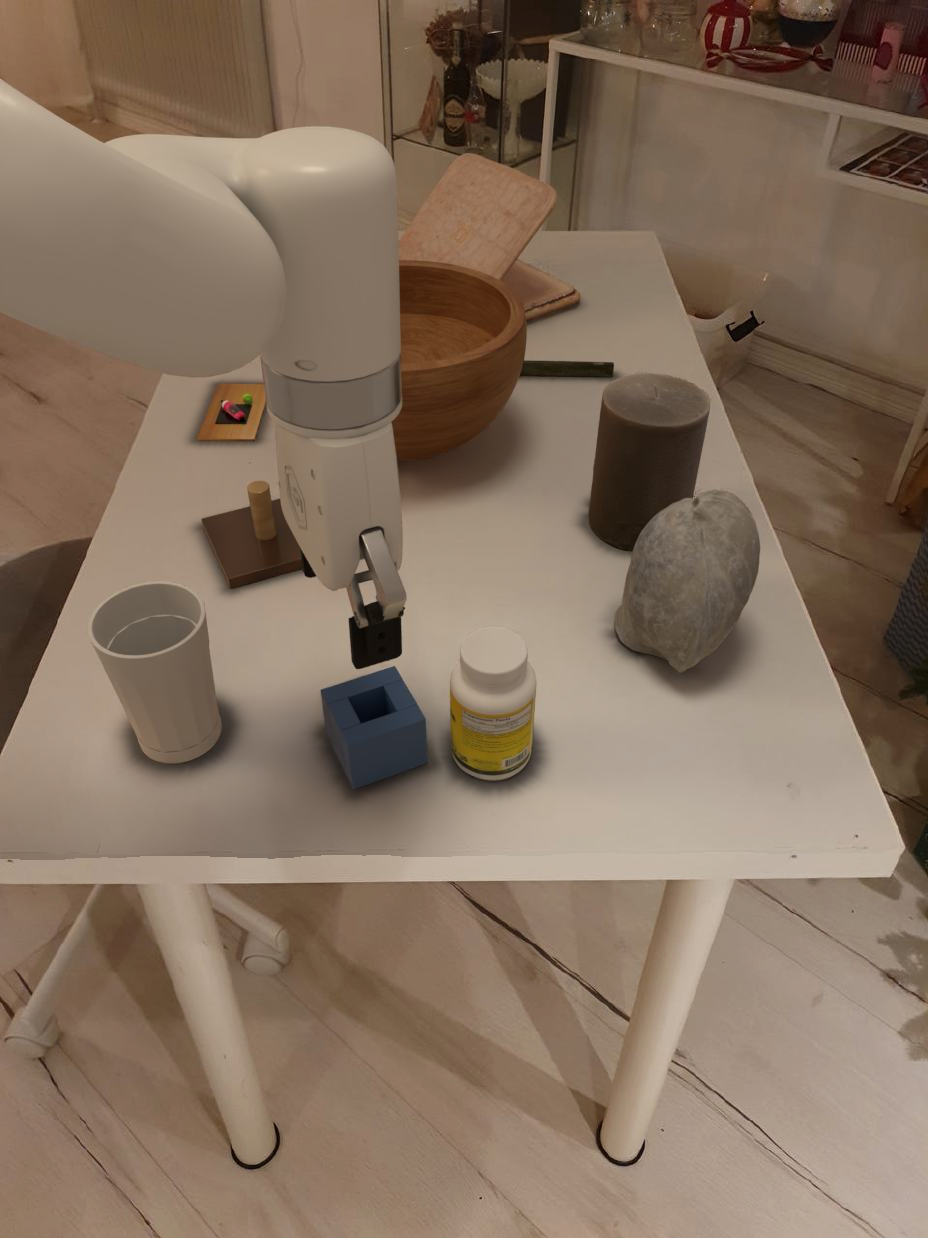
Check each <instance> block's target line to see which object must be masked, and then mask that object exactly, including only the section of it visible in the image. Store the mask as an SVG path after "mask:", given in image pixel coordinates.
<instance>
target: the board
mask: <svg viewBox="0 0 928 1238" xmlns="http://www.w3.org/2000/svg"><path fill="white" fill-rule="evenodd" d="M211 398H212V399H211V401H210V404H209V405H208V409H207V411H206V413H205V416H204V419H203V421H202V424H201V427H200V429H199V432H198V434H197V437H196V441H206V442H207V441H209V442H210V441H212V442H213V441H214V442H215V441H216V442H217V441H219V442H222V441H223V442H224V441H225V442H226V441H227V442H228V441H230V442H233V441H234V442H255V441H256V436H257V433H258V430H259V427H260V424H261V421H262V417H263V414H264V411H265V408H266V398H265V390H264V383H263V384H262V383H217V386H216V387H215V391H214V392H213V395H212V397H211Z"/></svg>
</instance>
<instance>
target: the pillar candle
mask: <svg viewBox="0 0 928 1238" xmlns="http://www.w3.org/2000/svg"><path fill="white" fill-rule="evenodd" d="M711 401H712V399H711V397H710V395H709V394H708V392H707V391H706V390H705V389H702V388H700V387H699V386H698V385H697V384H695V383H694V382H690V381H689V380H687V379H685V378H681V377H677V376H673V375H669V374H665V373H653V372H647V371H642V372H640V371H639V372H635V373H634V374H628V375H624V376H621V377H619V378H616V379H614V380H612V381H611V382H609V383H608V384H607V385H606V386H605V387H604V389H603V391H602V395H601V403H600V412H599V420H598V428H597V437H596V445H595V452H594V460H593V462H594V463H593V468H592V481H591V488H590V496H589V497H590V499H589V505H588V515H587V516H588V523H589V526H590V528H591V530H592V532H593V533H594V534H595V535H596V536H597V537H598V538H599V539H601V540H602V541H604V542H606V543H609V544H610V545H612V546H614V547H616V548H619V549H621V550H626V551H631V552H633V549H634V546H635V543H636V541H637V539H638V537H639V535H640V533H641V532H642V530H643V529H644V527H645V526H646V525H647V524H648V522H649V521H650V520H651V519H652V518H653V517H654V516H655V515H656V514H657V513H659V512H660V511H662V510H663V509H665V508H666V507H668V506H669V505H671V504H672V503H675V502H678V501H680V500H682V499H684V498H692V499H693V498H694V495H695V494H694V493H695V490H696V485H697V479H698V473H699V468H700V463H701V459H702V458H701V457H702V453H703V449H704V442H705V438H706V433H707V426H708V423H709V417H710V411H711Z"/></svg>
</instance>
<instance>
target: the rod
mask: <svg viewBox="0 0 928 1238" xmlns="http://www.w3.org/2000/svg"><path fill="white" fill-rule="evenodd" d="M614 369H615V363H614V362H613V361H581V360H580V361H578V360H577V361H575V360H574V361H572V360H571V361H570V360H527V359H526V360H525V359H524V361H523V366H522V369H521V373H520V376H534V375H537V376H554V377H556V376H559V377H605V378H606V377H608V378H609V377H610V378H611V377H613V376H614Z"/></svg>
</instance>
